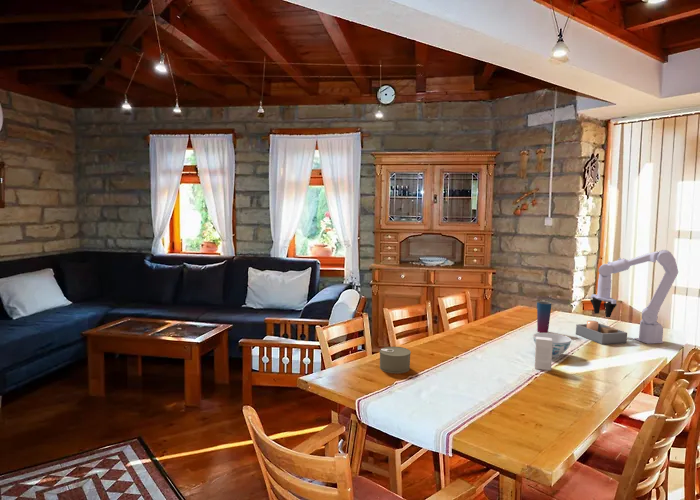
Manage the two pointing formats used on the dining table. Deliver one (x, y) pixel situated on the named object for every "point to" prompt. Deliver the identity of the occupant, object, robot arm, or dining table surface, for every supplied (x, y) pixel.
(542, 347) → the skincare box
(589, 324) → the terracotta cylinder
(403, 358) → the can
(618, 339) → the tote
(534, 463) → the dining table surface
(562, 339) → the chinaware
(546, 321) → the cup
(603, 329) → the walnut cube
